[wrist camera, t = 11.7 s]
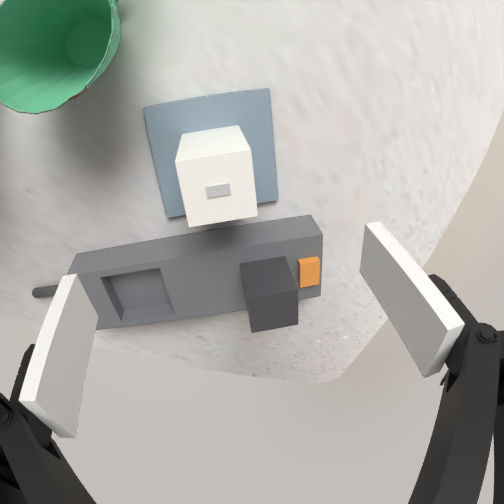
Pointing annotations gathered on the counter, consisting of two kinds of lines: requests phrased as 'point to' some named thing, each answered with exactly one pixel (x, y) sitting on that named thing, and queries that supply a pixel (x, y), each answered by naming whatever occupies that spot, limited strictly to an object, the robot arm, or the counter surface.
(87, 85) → the mug
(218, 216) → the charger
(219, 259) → the strip
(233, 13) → the counter surface
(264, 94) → the mat
